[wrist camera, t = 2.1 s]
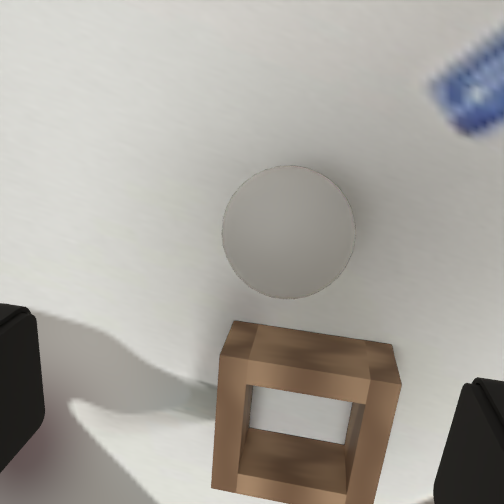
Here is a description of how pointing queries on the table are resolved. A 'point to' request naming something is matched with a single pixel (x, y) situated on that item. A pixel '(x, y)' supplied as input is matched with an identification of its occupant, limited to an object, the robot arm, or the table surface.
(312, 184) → the lightbulb
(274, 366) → the socket block
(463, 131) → the table surface
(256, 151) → the table surface
